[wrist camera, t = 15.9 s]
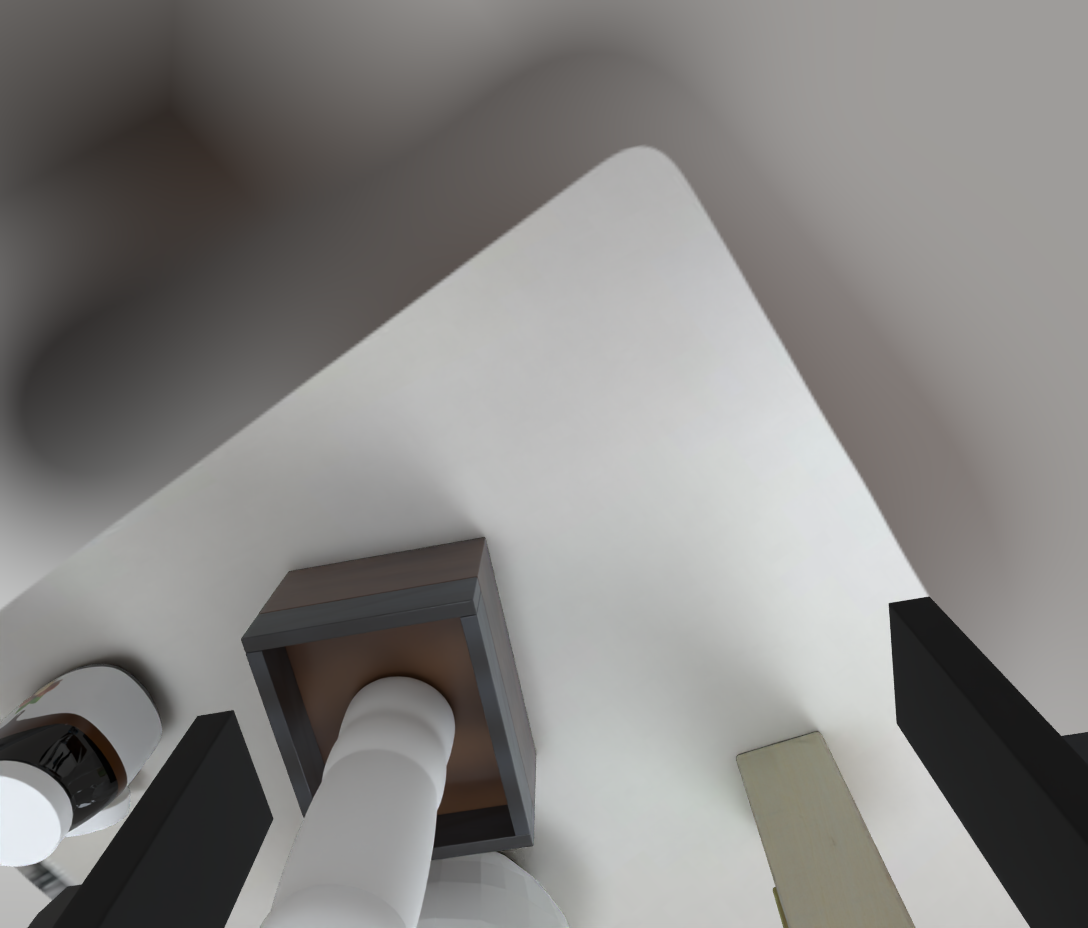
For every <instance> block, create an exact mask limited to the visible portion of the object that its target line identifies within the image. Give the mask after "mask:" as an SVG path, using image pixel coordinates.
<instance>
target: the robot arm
mask: <svg viewBox="0 0 1088 928" xmlns="http://www.w3.org/2000/svg"><path fill="white" fill-rule="evenodd" d="M889 614H890V630H891V645H892V660H893V675H894V690H895V705H896V720H897V725H898V726H899V728H900V729H901V731H902V732H903V734H904V735H905V737H906V738H907V740H908V741H909V743H910V744H911V746H912V748H913V749H914V751H915V752H916V754H917V755H918V757H919V758H920V760H921V761H922V763H923V764H924V766H925V767H926V769H927V770H928V772H929V774H930V775H931V777H932V778H933V780H934V781H935V783H936V784H937V786H938V787H939V789H940V790H941V792H942V793H943V795H944V796H945V798H946V800H947V801H948V803H949V804H950V806H951V807H952V809H953V810H954V812H955V813H956V815H957V816H958V818H959V819H960V821H961V822H962V824H963V825H964V827H965V829H966V830H967V832H968V833H969V835H970V836H971V838H972V839H973V841H974V842H975V844H976V845H977V847H978V848H979V850H980V851H981V853H982V855H983V856H984V858H985V859H986V861H987V862H988V864H989V865H990V867H991V868H992V870H993V871H994V873H995V874H996V876H997V877H998V879H999V881H1000V882H1001V884H1002V885H1003V887H1004V888H1005V890H1006V891H1007V893H1008V894H1009V896H1010V897H1011V899H1012V900H1013V902H1014V903H1015V905H1016V907H1017V908H1018V910H1019V911H1020V913H1021V914H1022V916H1023V917H1024V919H1025V920H1026V922H1027V923H1028V925H1029V926H1030V928H1088V732H1085V733H1078V734H1072V735H1065V736H1061V735H1060V734H1059V733H1058V732H1057V731H1056V730H1055V729H1054V728H1053V727H1052V726H1051V725H1050V724H1049V723H1048V722H1047V721H1046V720H1045V719H1044V717H1043V716H1042V715H1041V714H1040V713H1039V712H1038V711H1037V710H1036V709H1035V708H1034V707H1033V706H1032V705H1031V704H1030V703H1029V702H1028V700H1026V698H1025V697H1024V696H1023V695H1022V694H1021V693H1020V692H1019V691H1018V690H1017V689H1016V688H1015V687H1014V686H1013V685H1012V684H1011V683H1010V681H1009V680H1008V679H1007V678H1006V677H1005V676H1004V675H1003V674H1002V673H1001V672H1000V671H999V670H998V669H997V668H996V667H995V666H994V664H992V662H991V661H990V660H989V659H988V658H987V657H986V656H985V655H984V654H983V653H982V652H981V651H980V650H979V649H978V648H977V646H975V644H974V643H973V642H972V641H971V640H970V639H969V638H968V637H967V636H966V635H965V634H964V633H963V632H962V631H961V630H960V629H959V627H958V626H957V625H956V624H955V623H954V622H953V621H952V620H951V619H950V618H949V617H948V616H947V615H946V614H945V613H944V612H943V611H942V610H941V609H940V607H939V606H938V605H937V604H936V603H935V602H934V601H933V600H932V599H931V598H930V597H924V598H918V599H912V600H906V601H900V602H893V603H889ZM272 821H273V816H272V813H271V811H270V808H269V805H268V803H267V800H266V797H265V794H264V792H263V789H262V786H261V784H260V781H259V778H258V775H257V773H256V770H255V767H254V765H253V762H252V759H251V756H250V754H249V751H248V748H247V746H246V743H245V740H244V737H243V735H242V732H241V729H240V727H239V724H238V721H237V718H236V716H235V713H234V710H231V711H225V712H219V713H213V714H207V715H201V716H197V718H196V719H195V720H194V722H193V723H192V725H191V726H190V728H189V729H188V731H187V732H186V734H185V735H184V736H183V738H182V739H181V741H180V742H179V744H178V745H177V747H176V748H175V750H174V751H173V752H172V754H171V755H170V757H169V758H168V760H167V761H166V763H165V764H164V766H163V767H162V768H161V770H160V771H159V773H158V774H157V776H156V777H155V779H154V780H153V782H152V783H151V785H150V786H149V787H148V789H147V790H146V792H145V793H144V795H143V796H142V798H141V799H140V801H139V802H138V803H137V805H136V806H135V808H134V809H133V811H132V812H131V814H130V815H129V817H128V818H127V819H126V821H125V822H124V824H123V825H122V827H121V828H120V830H119V831H118V833H117V834H116V835H115V837H114V838H113V840H112V841H111V843H110V844H109V846H108V847H107V849H106V850H105V851H104V853H103V854H102V856H101V857H100V859H99V860H98V862H97V863H96V865H95V866H94V868H93V869H92V870H91V872H90V873H89V875H88V876H87V878H86V879H85V881H84V882H83V884H82V885H75V886H69V887H67V888H66V889H64V890H63V891H62V892H61V893H60V894H59V895H58V896H57V897H56V898H55V899H54V900H52V901H51V902H50V903H49V904H48V905H47V906H46V907H45V908H44V909H43V910H42V911H40V912H39V913H38V914H37V916H36V917H35V918H34V920H33V921H32V922H31V924H30V925H29V927H28V928H224V927H225V925H226V923H227V920H228V918H229V916H230V914H231V912H232V909H233V907H234V905H235V903H236V901H237V898H238V896H239V894H240V892H241V889H242V887H243V885H244V883H245V881H246V878H247V876H248V874H249V872H250V869H251V867H252V865H253V863H254V861H255V858H256V856H257V854H258V852H259V849H260V847H261V845H262V843H263V841H264V838H265V836H266V834H267V832H268V830H269V827H270V825H271V823H272Z"/></svg>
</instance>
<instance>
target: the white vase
mask: <svg viewBox="0 0 1088 928" xmlns="http://www.w3.org/2000/svg"><path fill="white" fill-rule="evenodd" d="M416 928H569V925H568V923H567V920H566V918H565V915H564V914H563V912H562V911H561V910H560V909H559V907H558V906H557V905H556V903H555V902H554V901H553V900H552V898H551V897H550V896H549V894H548V893H547V892H546V891H545V890H544V889H543V887H542V886H541V885H540V884H539V883H538V882H537V880H536V879H535V878H534V877H532V876H531V875H530V874H528V873H527V872H526V871H525V870H523V869H522V868H521V867H519V866H518V865H517V864H516V863H514V862H513V861H511V860H510V859H509V858H507V857H506V856H505V855H503V854H500V853H498V852H496V851H494V852H488V853H481V854H474V855H467V856H460V857H454V858H447V859H440V860H433V861H431V863H430V868H429V874H428V879H427V884H426V889H425V894H424V899H423V903H422V908H421V912H420V916H419V920H418V924H417V927H416Z"/></svg>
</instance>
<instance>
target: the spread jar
mask: <svg viewBox="0 0 1088 928" xmlns="http://www.w3.org/2000/svg"><path fill="white" fill-rule="evenodd" d="M161 735H162V723H161V718H160V715H159V712H158V710H157V707H156V705H155V703H154V701H153V699H152V697H151V696H150V694H149V693H148V691H147V690H146V688H145V687H144V686H143V685H142V684H141V683H140V682H139V681H138V680H137V679H136V678H135V677H134V676H133V675H131V674H130V673H129V672H127V671H125V670H124V669H122V668H120V667H117V666H114V665H109V664H92V665H86V666H82V667H79V668H76V669H74V670H72V671H69V672H67V673H65V674H63V675H62V676H60V677H58V678H57V679H55V680H53V681H52V682H50V683H48V684H47V685H45V686H44V687H42V688H41V689H40V690H38V691H37V692H35V693H34V694H33V695H31V696H30V697H29V698H27V699H26V700H25V701H24V702H23V703H21V704H20V705H19V706H18V707H17V708H16V709H14V710H13V711H12V712H11V713H10V714H9V715H8V716H7V717H6V718H5V719H4V720H2V721H1V722H0V865H4V866H14V867H16V866H27V865H31V864H35V863H37V862H40V861H42V860H44V859H45V858H47V857H48V856H49V855H50V854H52V852H53V851H54V850H55V848H56V847H57V846H58V845H59V843H60V842H61V841H62V839H63V838H64V837H72V836H78V835H83V834H88V833H92V832H96V831H99V830H102V829H104V828H107V827H109V826H112V825H114V824H116V823H117V822H119V821H121V820H122V819H123V818H124V817H126V815H127V814H128V812H129V809H130V789H129V788H128V787H127V786H128V785H129V784H130V782H131V781H132V780H133V779H134V777H135V776H136V775H137V773H138V772H139V771H140V769H141V768H142V766H143V765H144V764H145V762H146V761H147V760H148V758H149V757H150V755H151V754H152V752H153V751H154V750H155V748H156V746H157V745H158V743H159V741H160V738H161Z"/></svg>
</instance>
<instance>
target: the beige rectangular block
mask: <svg viewBox="0 0 1088 928" xmlns="http://www.w3.org/2000/svg"><path fill="white" fill-rule="evenodd" d="M736 759H737V763H738V767H739V770H740V773H741V776H742V780H743V783H744V786H745V789H746V792H747V796H748V799H749V802H750V806H751V809H752V812H753V815H754V818H755V822H756V825H757V828H758V831H759V835H760V838H761V841H762V844H763V847H764V851H765V854H766V857H767V860H768V863H769V867H770V870H771V873H772V876H773V880H774V883H775V886H776V887H774V888H773V893H774V897H775V900H776V904H777V907H778V911H779V914H780V917H781V921H782V924H783V928H915V926H914V924H913V922H912V919H911V917H910V915H909V913H908V911H907V909H906V907H905V905H904V903H903V901H902V899H901V897H900V895H899V893H898V891H897V889H896V887H895V885H894V882H893V880H892V878H891V876H890V874H889V872H888V870H887V868H886V866H885V864H884V862H883V860H882V858H881V856H880V853H879V851H878V849H877V847H876V845H875V843H874V841H873V839H872V837H871V835H870V833H869V831H868V829H867V826H866V824H865V822H864V820H863V818H862V816H861V814H860V812H859V810H858V808H857V806H856V804H855V802H854V800H853V798H852V795H851V793H850V791H849V789H848V787H847V785H846V783H845V781H844V779H843V777H842V775H841V773H840V771H839V769H838V767H837V764H836V762H835V760H834V758H833V756H832V754H831V752H830V750H829V748H828V746H827V744H826V742H825V740H824V738H823V736H822V734H821V733H819V732H814V733H811V734H807V735H804V736H801V737H797V738H794V739H790V740H788V741H784V742H780V743H777V744H774V745H770V746H767V747H764V748H760V749H757V750H753V751H750V752H747V753H744V754H740V755H738V756H737V757H736Z"/></svg>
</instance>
